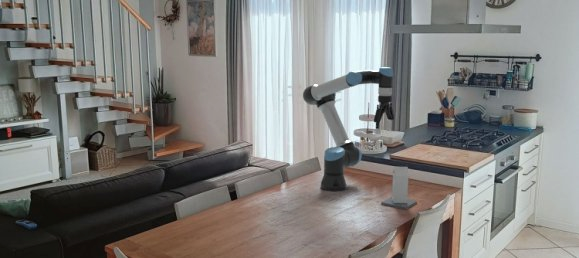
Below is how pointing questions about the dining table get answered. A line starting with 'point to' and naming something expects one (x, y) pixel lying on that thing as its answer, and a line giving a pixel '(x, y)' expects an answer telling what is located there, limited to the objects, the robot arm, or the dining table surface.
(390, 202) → the slate board
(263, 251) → the dining table surface
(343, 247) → the dining table surface
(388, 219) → the dining table surface
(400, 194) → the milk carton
